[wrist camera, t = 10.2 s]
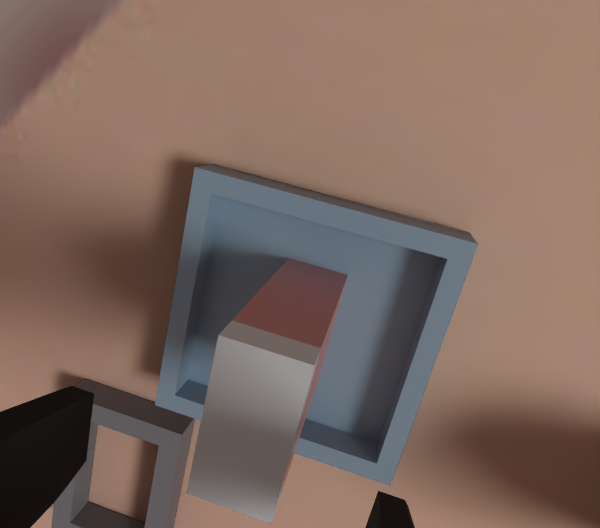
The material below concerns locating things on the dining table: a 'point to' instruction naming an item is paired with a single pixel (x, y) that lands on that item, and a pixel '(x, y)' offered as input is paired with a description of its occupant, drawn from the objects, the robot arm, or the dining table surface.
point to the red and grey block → (264, 389)
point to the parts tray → (351, 314)
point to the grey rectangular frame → (141, 424)
